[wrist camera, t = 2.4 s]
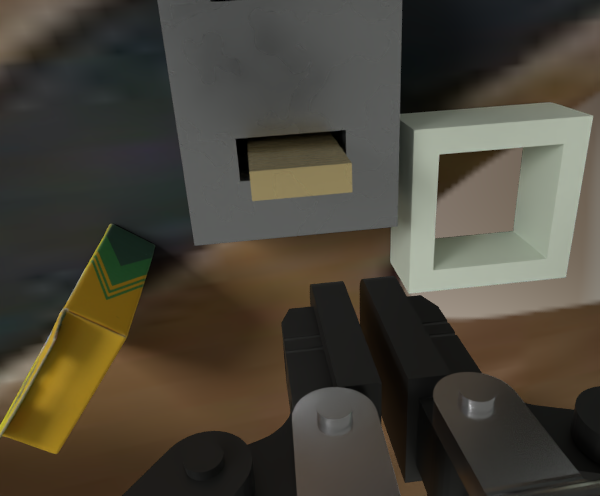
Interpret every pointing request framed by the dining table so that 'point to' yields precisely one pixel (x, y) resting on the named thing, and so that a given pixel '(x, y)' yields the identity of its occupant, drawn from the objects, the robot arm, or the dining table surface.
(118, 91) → the dining table surface
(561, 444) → the robot arm
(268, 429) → the dining table surface
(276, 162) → the wooden block
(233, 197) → the socket block
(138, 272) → the crayon box
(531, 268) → the hollow square frame block
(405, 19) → the dining table surface
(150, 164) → the dining table surface
